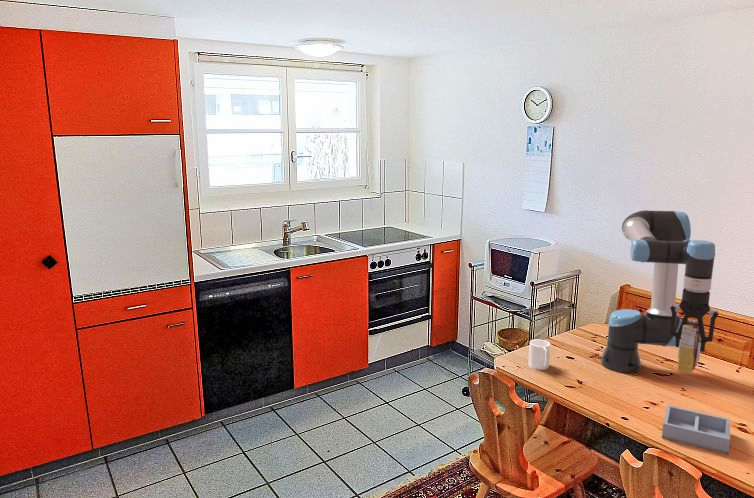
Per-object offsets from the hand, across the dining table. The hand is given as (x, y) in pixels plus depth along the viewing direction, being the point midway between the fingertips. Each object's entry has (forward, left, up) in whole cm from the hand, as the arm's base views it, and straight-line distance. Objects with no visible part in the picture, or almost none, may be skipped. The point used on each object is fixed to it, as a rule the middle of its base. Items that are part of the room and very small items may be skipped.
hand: (688, 358), depth 179 cm
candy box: (0, 0, -3) cm, 3 cm away
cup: (-53, +20, -24) cm, 61 cm away
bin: (+4, -6, -23) cm, 25 cm away
